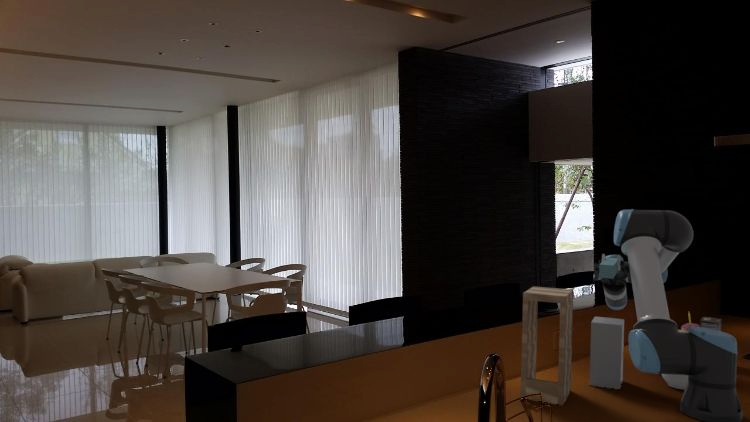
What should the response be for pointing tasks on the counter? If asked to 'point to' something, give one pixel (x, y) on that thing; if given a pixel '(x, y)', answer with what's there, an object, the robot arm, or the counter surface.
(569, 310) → the wooden stool frame
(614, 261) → the teal block
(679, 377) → the lidded bowl
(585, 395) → the counter surface
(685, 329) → the cupcake
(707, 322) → the coffee box
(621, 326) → the stone block
